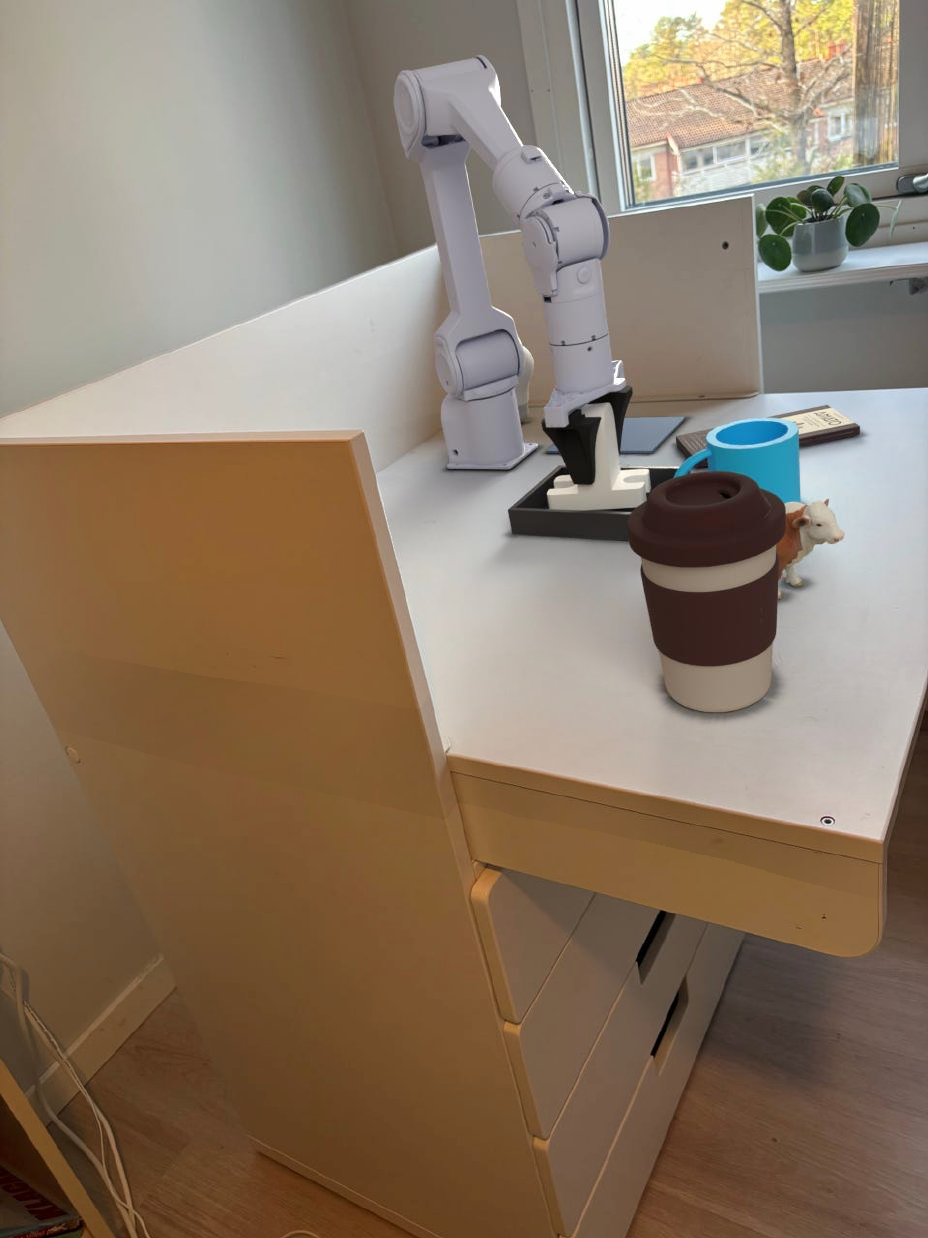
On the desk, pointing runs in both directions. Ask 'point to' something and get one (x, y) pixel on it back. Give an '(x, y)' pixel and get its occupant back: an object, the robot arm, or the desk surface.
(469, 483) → the desk surface
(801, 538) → the bull figurine
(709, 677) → the coffee cup
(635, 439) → the cloth
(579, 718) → the desk surface
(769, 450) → the mug
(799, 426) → the chocolate bar
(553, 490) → the cable organizer
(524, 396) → the lightbulb
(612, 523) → the tray
